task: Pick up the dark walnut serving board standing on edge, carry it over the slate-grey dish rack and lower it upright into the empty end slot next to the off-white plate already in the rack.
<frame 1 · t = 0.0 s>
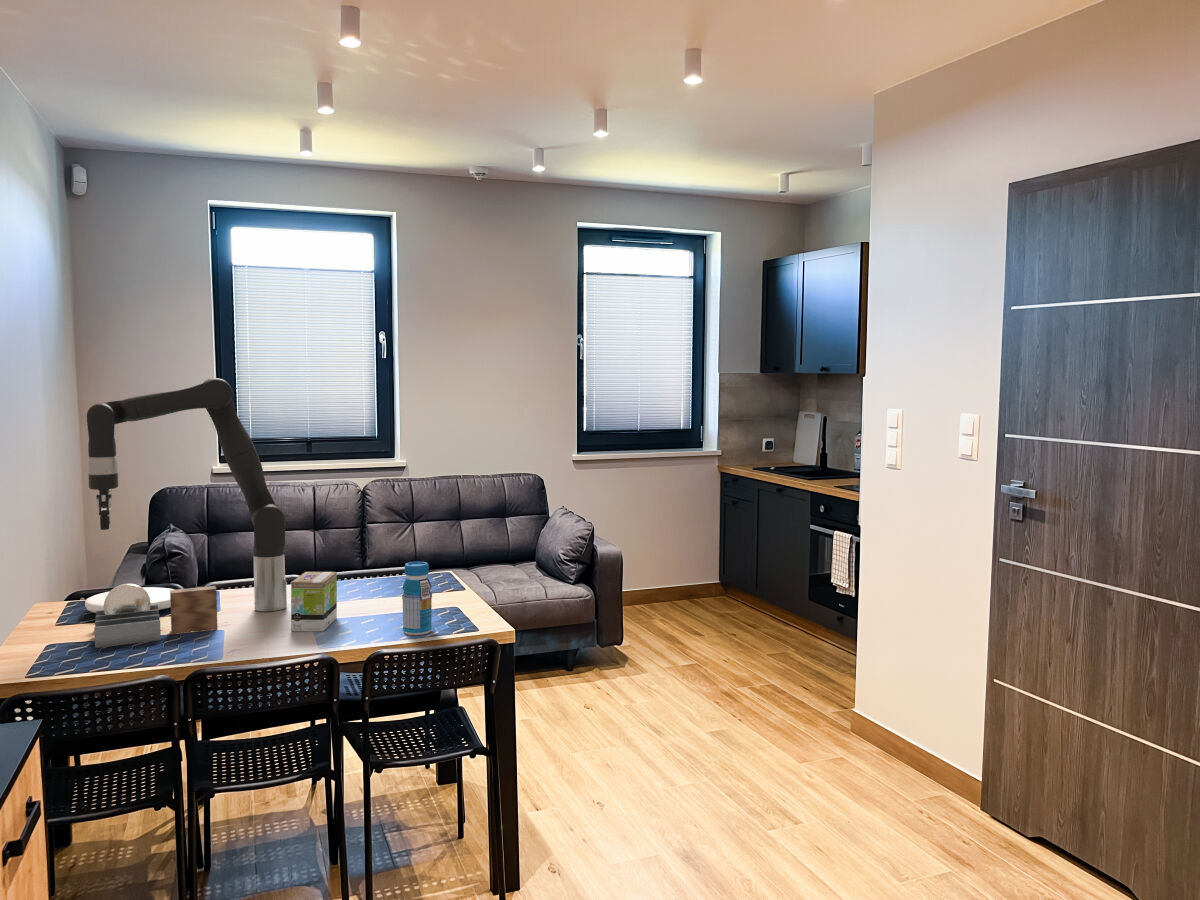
hand: (105, 527, 261), 29 cm above the table, fingers open, 8 cm apart
plate: (135, 610, 283), on the table
dish rack: (128, 634, 255), on the table
tea box: (314, 625, 266), on the table
walnut board: (194, 630, 260), on the table
beverage bottle: (417, 632, 259), on the table
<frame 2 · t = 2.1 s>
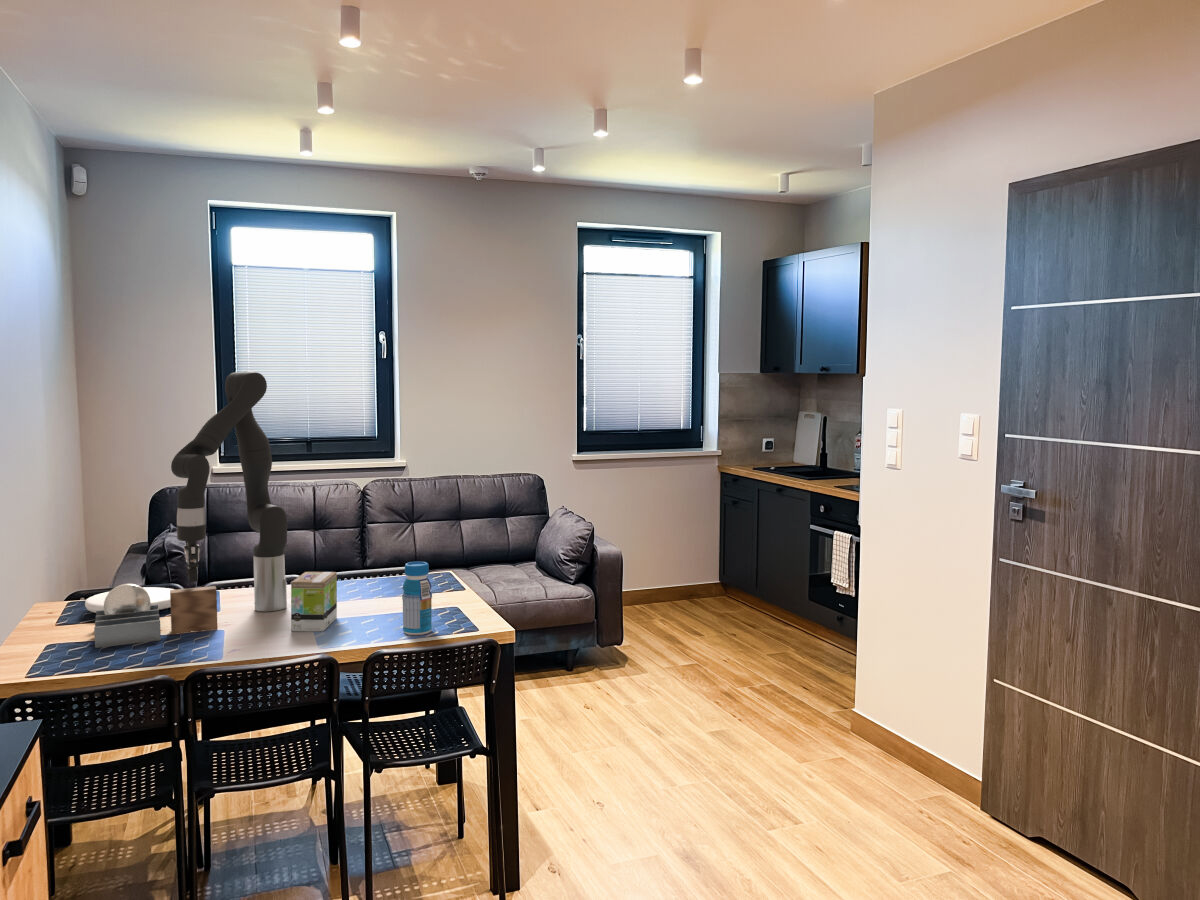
hand: (192, 578, 259), 15 cm above the table, fingers open, 8 cm apart
nothing on the table moved.
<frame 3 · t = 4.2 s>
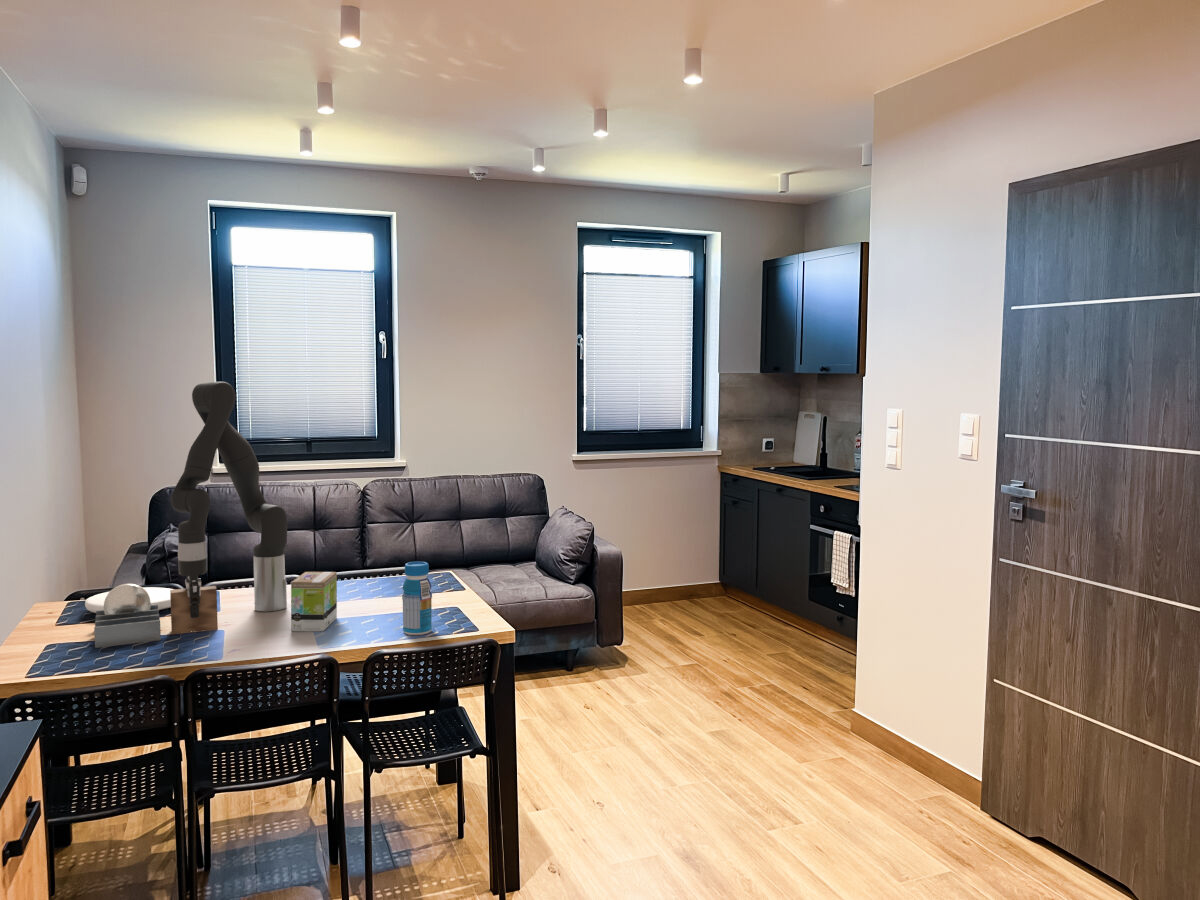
hand: (194, 615, 260), 4 cm above the table, fingers closed on walnut board, 4 cm apart
walnut board: (194, 630, 260), on the table, touching gripper
everything else where it was.
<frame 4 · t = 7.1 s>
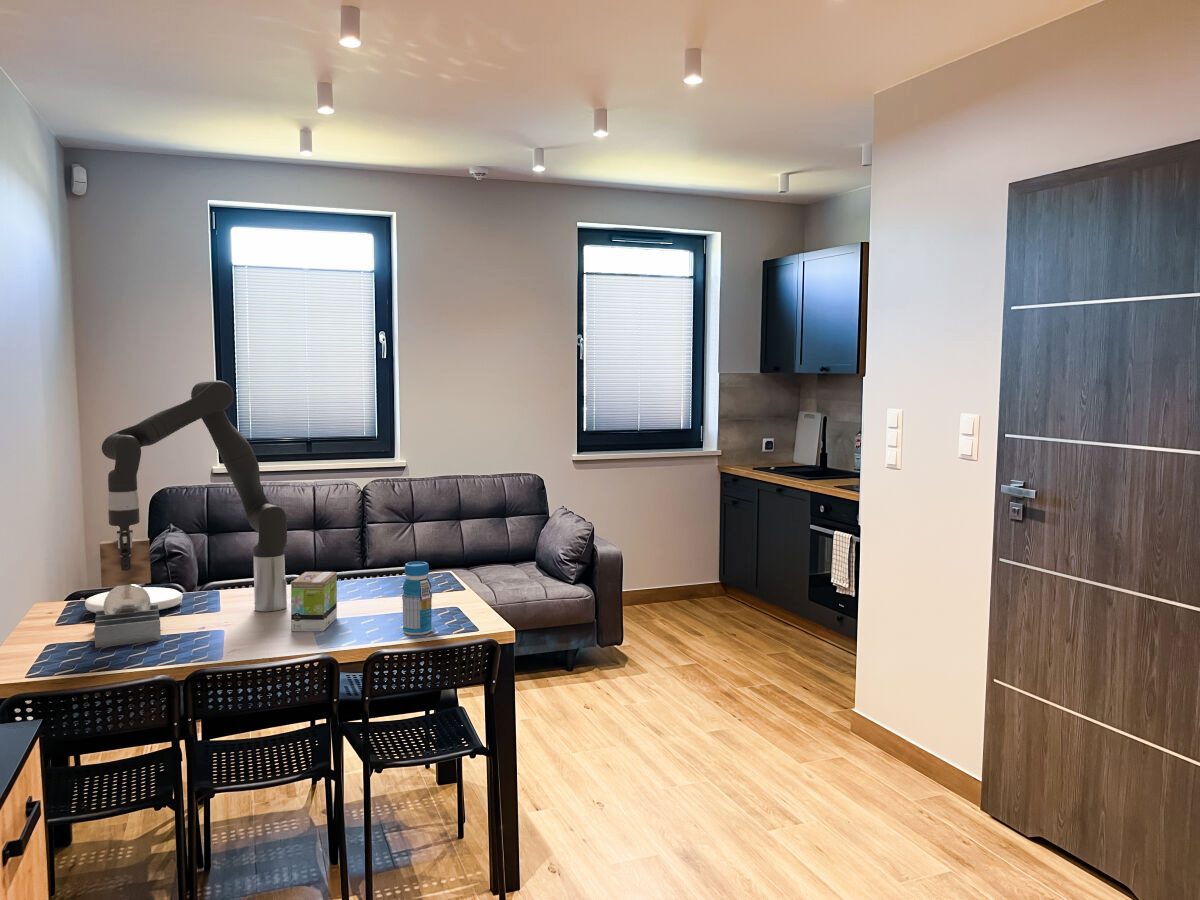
hand: (126, 568, 248), 20 cm above the table, fingers closed on walnut board, 4 cm apart
walnut board: (126, 583, 248), point 16 cm above the table, touching gripper
everything else where it was.
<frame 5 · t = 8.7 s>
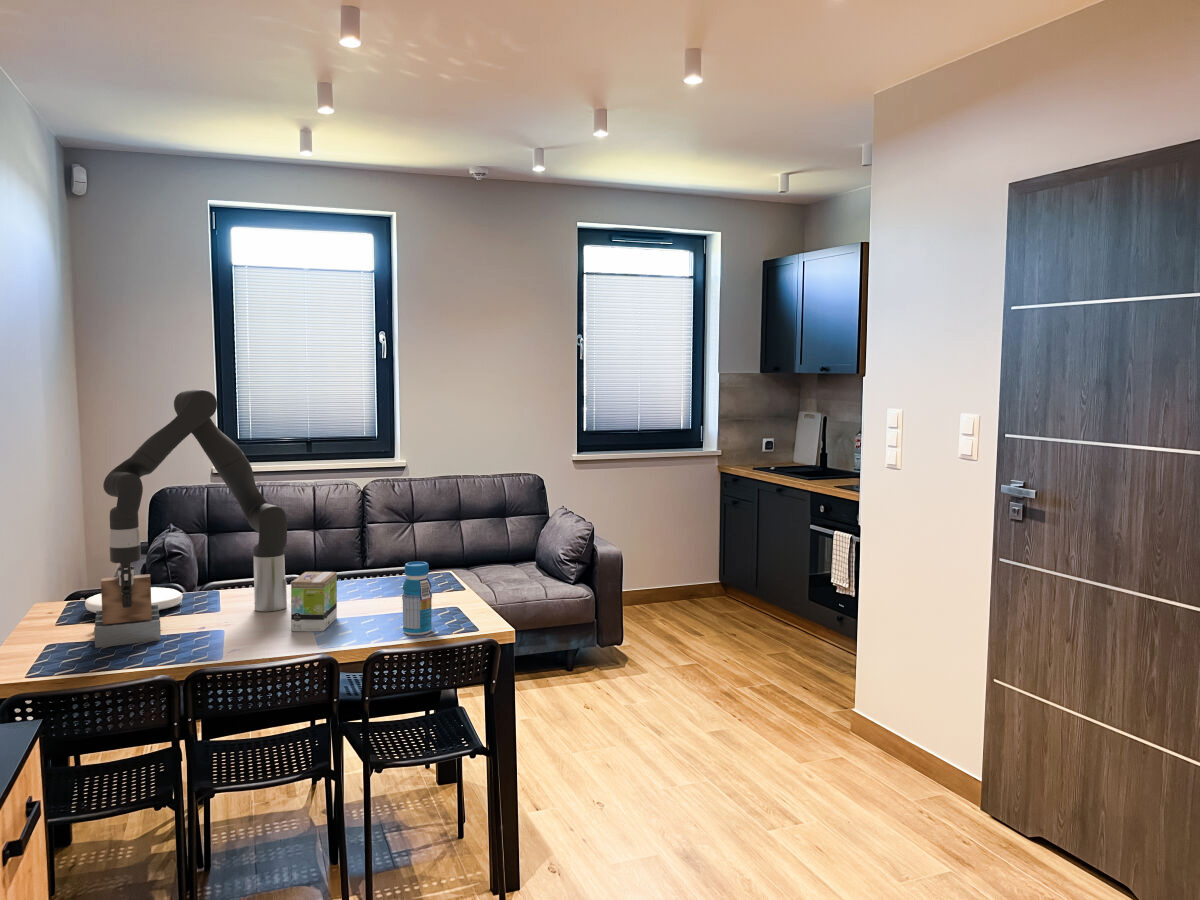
hand: (127, 604, 248), 10 cm above the table, fingers closed on walnut board, 4 cm apart
walnut board: (127, 620, 249), point 6 cm above the table, touching gripper
everything else where it was.
when the fingers open (7 cm above the table, at t = 10.1 s): walnut board drops 2 cm, resting on dish rack.
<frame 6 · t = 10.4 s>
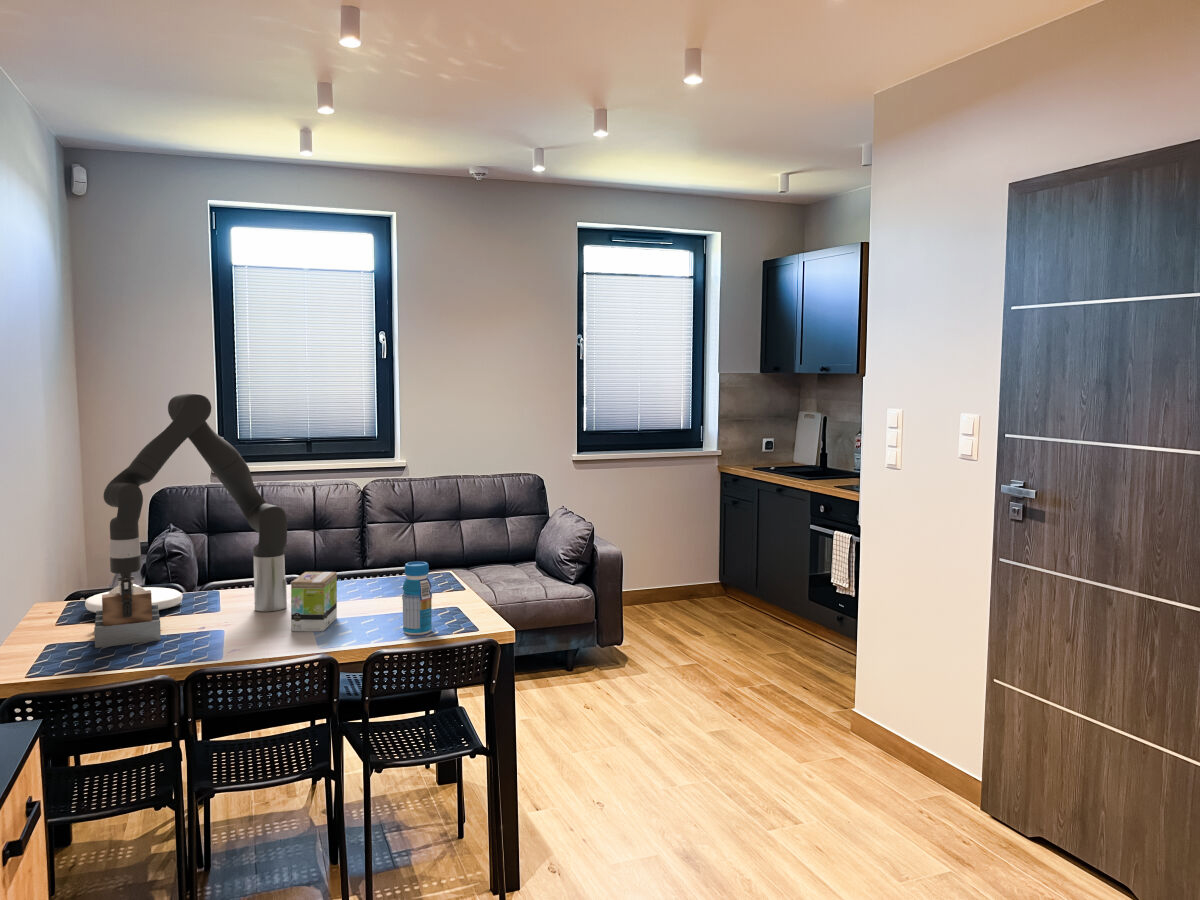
hand: (127, 613, 248), 8 cm above the table, fingers open, 6 cm apart
walnut board: (128, 636, 249), point 1 cm above the table, touching dish rack
everything else where it was.
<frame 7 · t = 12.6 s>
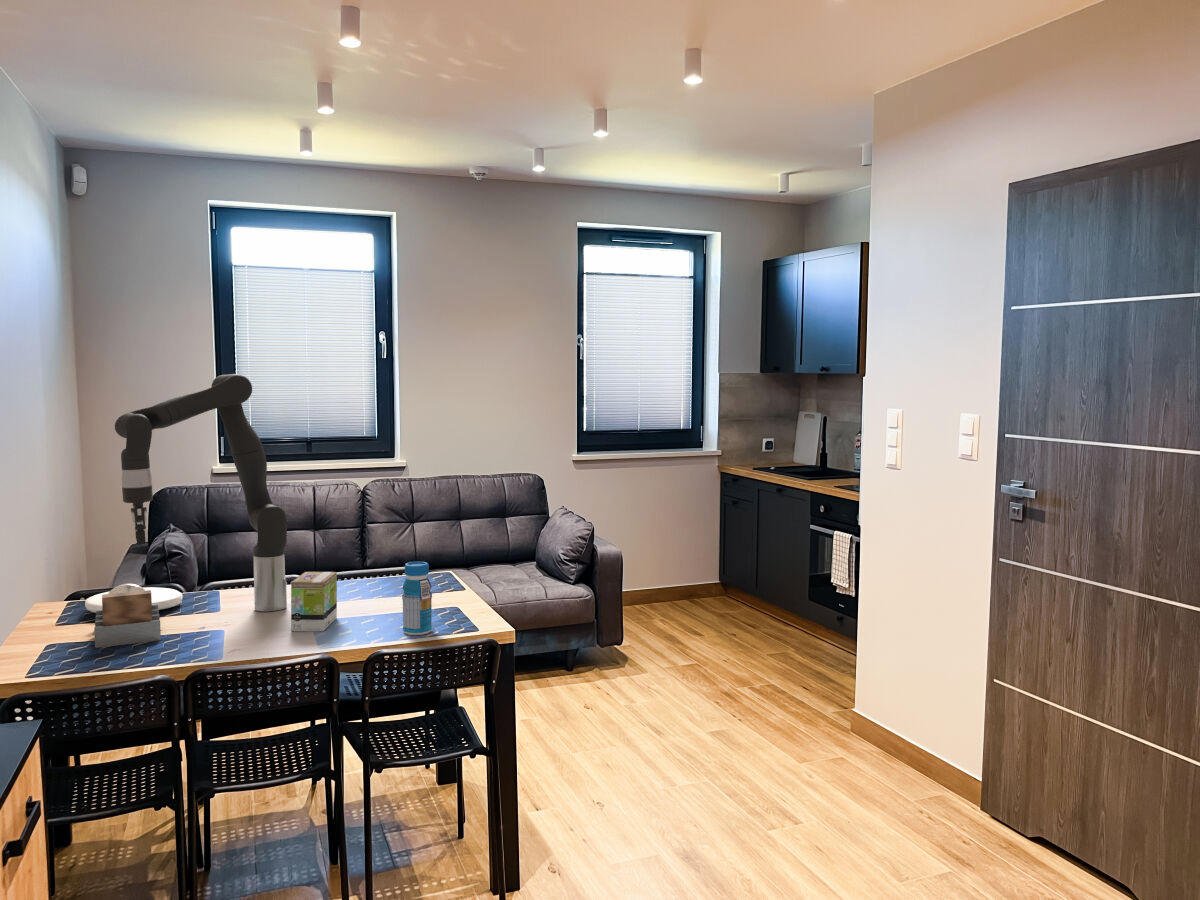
hand: (140, 541, 253), 27 cm above the table, fingers open, 8 cm apart
nothing on the table moved.
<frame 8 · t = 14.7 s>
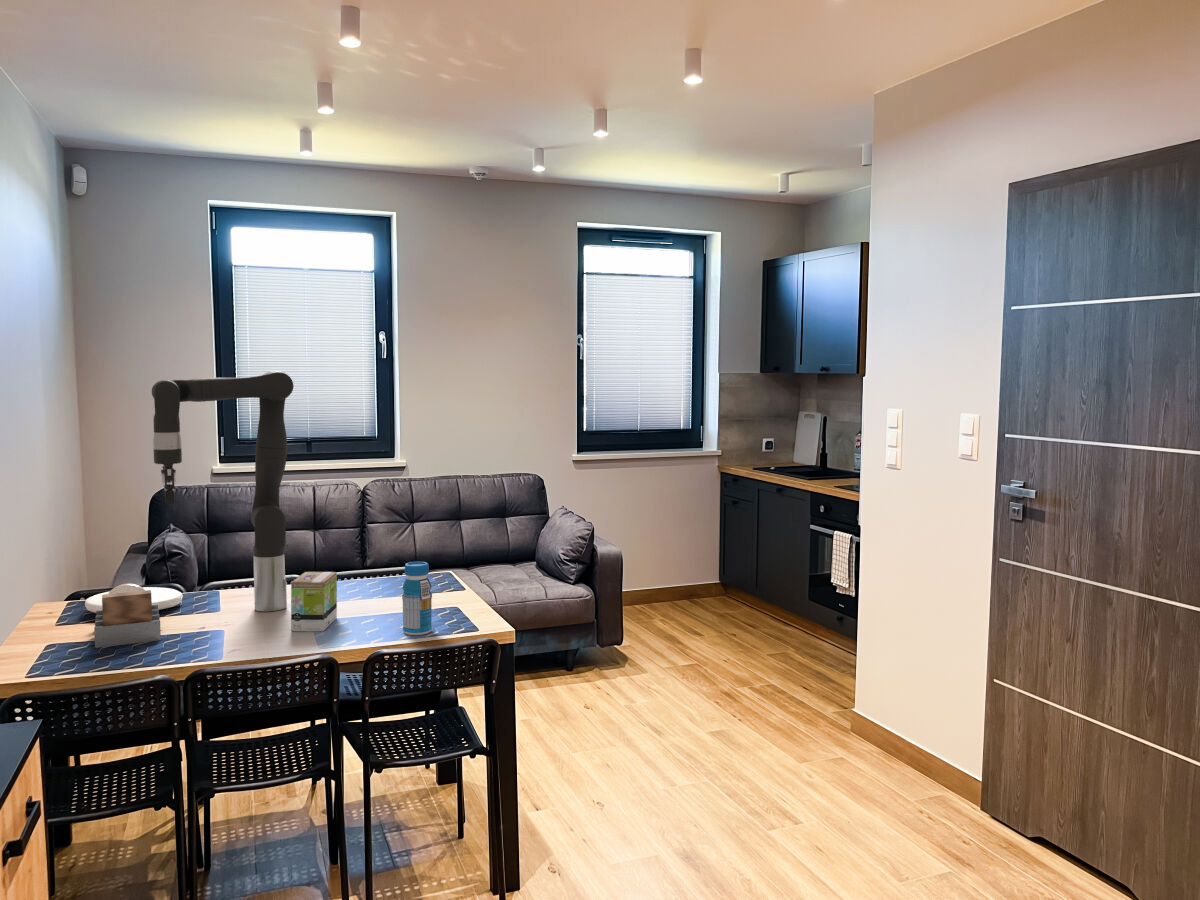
hand: (169, 501, 267), 36 cm above the table, fingers open, 8 cm apart
nothing on the table moved.
at the end: walnut board inside the target area on the dish rack (0.0 cm from its centre), point 1.2 cm above the dish rack's base; walnut board tilted 0°; the gripper is holding nothing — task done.
